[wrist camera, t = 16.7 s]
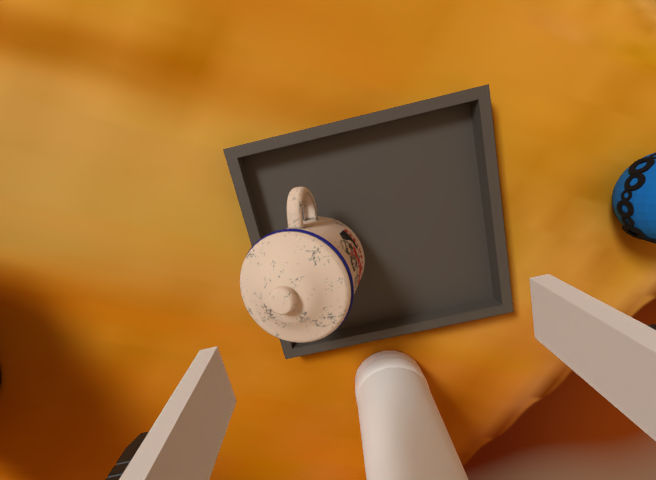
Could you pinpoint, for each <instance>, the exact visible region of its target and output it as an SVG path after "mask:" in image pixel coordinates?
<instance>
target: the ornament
mask: <svg viewBox="0 0 656 480" xmlns="http://www.w3.org/2000/svg"><path fill="white" fill-rule="evenodd" d="M612 205H613V210H614V212H615V214H616V216H617V218H618V219H619V221H620V222H621V223H622V224H623V226H622V229H623V230H624V231H625V232H626V233H628V234H629V235H631V236H633V237H635V238H638V239H643V240H646V241H649V242H652V243H656V153H653V154H650V155H648V156H645V157H643V158H641V159H639V160H637V161H636V162H634V163H633V164H632V165H631V166H630V167H629V168H627V169H626V170H625V171H624V173H623V174H622V175H621V176H620V178H619V179H618V181H617V183H616V185H615V187H614V190H613V195H612Z"/></svg>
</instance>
